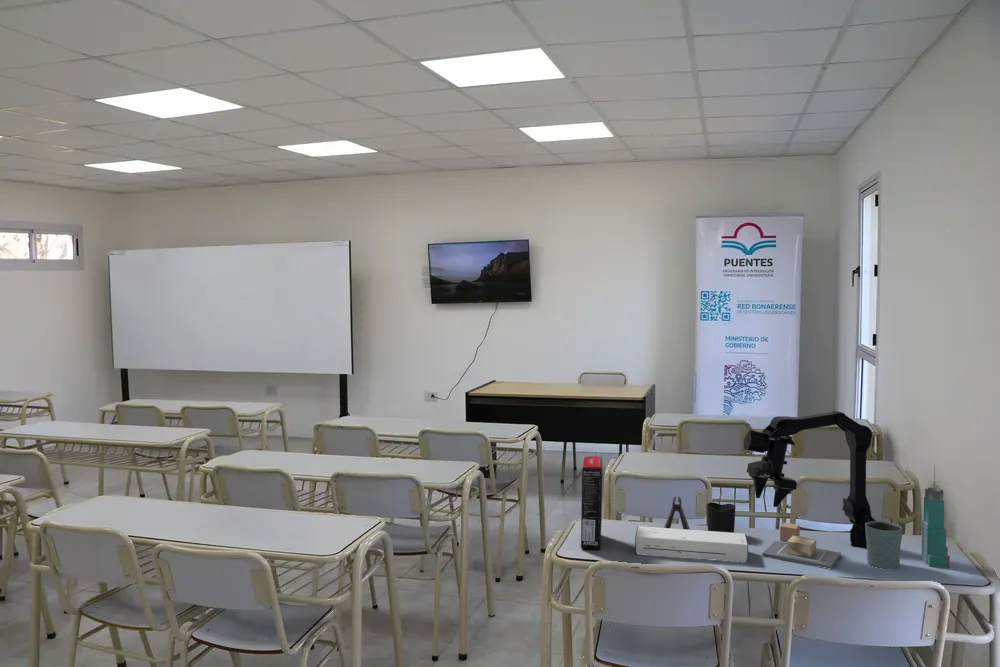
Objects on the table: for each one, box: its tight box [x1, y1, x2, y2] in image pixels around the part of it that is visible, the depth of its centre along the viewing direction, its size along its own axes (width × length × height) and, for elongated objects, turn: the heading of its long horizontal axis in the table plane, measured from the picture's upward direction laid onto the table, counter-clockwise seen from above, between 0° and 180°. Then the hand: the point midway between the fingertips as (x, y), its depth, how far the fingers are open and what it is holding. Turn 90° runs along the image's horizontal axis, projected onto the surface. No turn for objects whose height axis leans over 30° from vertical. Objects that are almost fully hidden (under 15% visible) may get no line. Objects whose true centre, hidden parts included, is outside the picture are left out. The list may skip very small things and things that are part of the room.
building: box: [921, 466, 951, 568], centre depth 223 cm, size 6×6×30 cm
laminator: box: [634, 525, 749, 564], centre depth 235 cm, size 34×12×6 cm, turn 76°
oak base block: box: [786, 535, 817, 558], centre depth 231 cm, size 7×7×4 cm
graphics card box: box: [580, 455, 603, 550], centre depth 245 cm, size 17×7×27 cm, turn 172°
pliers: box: [663, 496, 691, 530], centre depth 255 cm, size 9×6×12 cm, turn 75°
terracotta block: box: [779, 522, 801, 543], centre depth 247 cm, size 5×5×5 cm
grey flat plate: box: [762, 540, 842, 570], centre depth 231 cm, size 20×14×1 cm
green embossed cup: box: [865, 520, 903, 570], centre depth 223 cm, size 10×10×12 cm
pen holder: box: [706, 501, 736, 533], centre depth 253 cm, size 9×9×10 cm
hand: (766, 502), depth 240 cm, fingers open, 9 cm apart
